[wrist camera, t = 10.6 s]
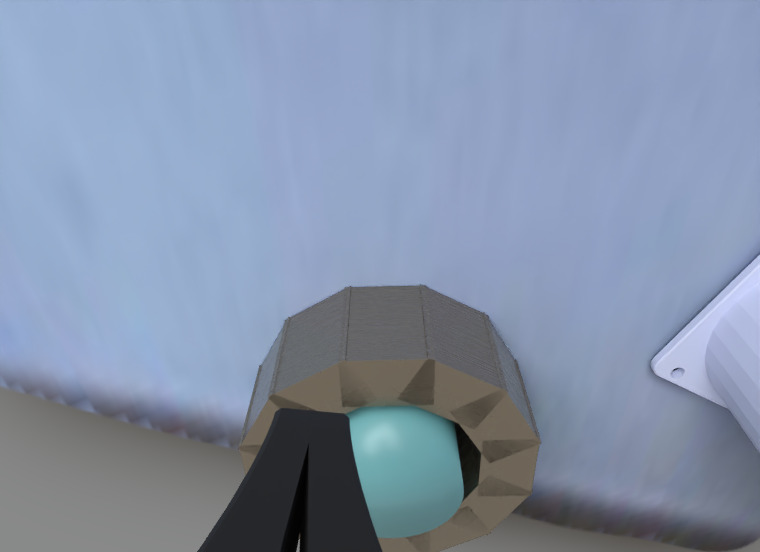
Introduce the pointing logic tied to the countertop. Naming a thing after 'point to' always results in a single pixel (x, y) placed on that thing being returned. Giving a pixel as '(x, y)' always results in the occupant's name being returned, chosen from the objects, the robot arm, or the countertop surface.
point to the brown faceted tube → (409, 390)
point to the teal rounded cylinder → (406, 468)
